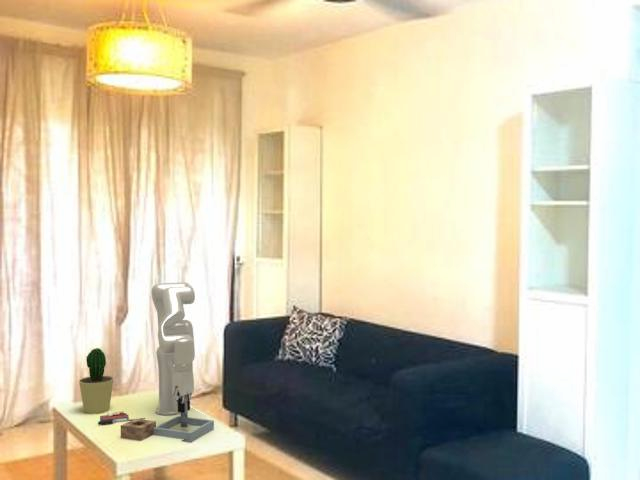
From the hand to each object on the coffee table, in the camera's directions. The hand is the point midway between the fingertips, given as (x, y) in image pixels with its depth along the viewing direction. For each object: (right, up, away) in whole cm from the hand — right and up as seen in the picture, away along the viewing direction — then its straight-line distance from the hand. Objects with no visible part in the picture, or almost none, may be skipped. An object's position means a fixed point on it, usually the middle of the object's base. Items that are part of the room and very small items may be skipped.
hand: (183, 410), depth 276 cm
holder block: (-18, -10, -6) cm, 21 cm away
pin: (0, -7, 0) cm, 7 cm away
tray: (0, -10, 0) cm, 10 cm away
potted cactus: (-48, -9, +34) cm, 59 cm away
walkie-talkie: (-31, -10, +17) cm, 37 cm away
